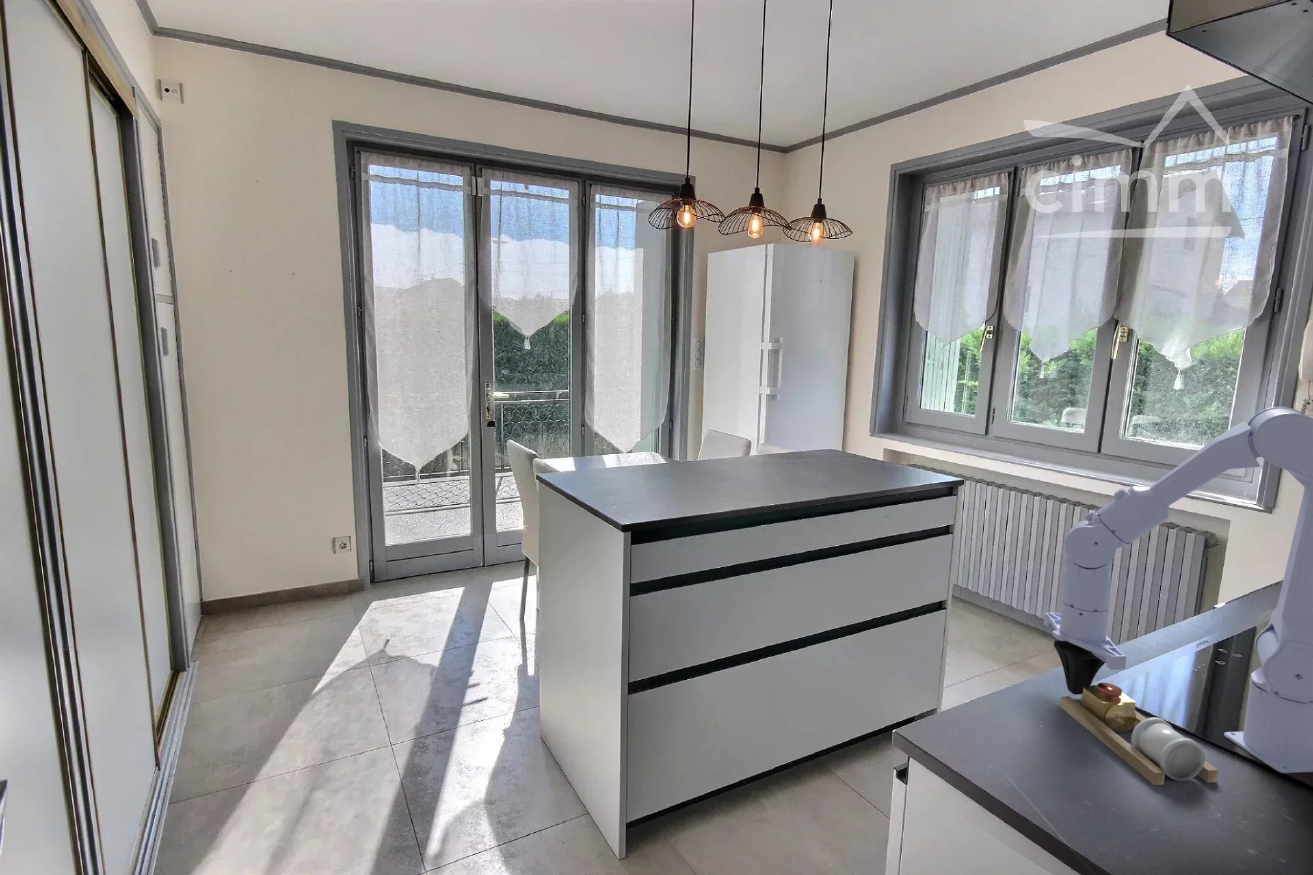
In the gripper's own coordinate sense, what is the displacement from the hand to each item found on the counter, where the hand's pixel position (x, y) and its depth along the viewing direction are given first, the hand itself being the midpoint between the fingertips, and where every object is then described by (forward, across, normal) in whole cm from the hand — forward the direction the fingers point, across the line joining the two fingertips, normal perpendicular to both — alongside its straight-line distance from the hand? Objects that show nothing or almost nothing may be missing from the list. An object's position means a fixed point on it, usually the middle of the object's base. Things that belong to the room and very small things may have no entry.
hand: (1077, 691), depth 98 cm
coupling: (+1, +16, 0) cm, 16 cm away
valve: (+1, +6, 0) cm, 6 cm away
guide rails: (+1, +11, 0) cm, 11 cm away
